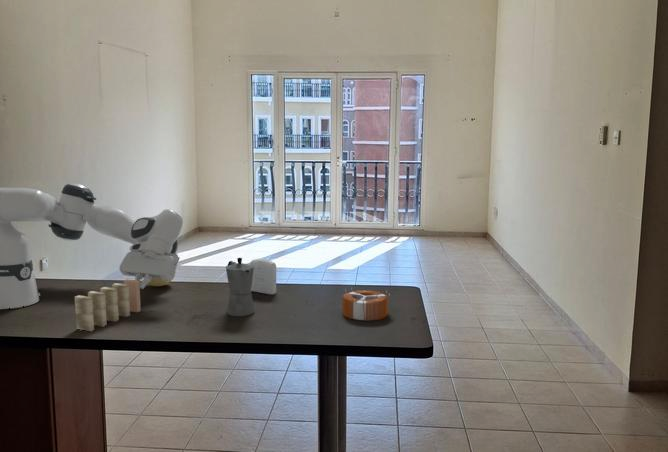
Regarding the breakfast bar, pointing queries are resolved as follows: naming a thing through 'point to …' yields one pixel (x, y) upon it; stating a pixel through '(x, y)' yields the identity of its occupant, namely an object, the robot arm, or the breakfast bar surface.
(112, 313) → the domino
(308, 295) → the breakfast bar surface
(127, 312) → the domino
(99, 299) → the domino
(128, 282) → the domino
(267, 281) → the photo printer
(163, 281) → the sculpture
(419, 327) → the breakfast bar surface
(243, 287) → the coffeepot
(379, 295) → the coil
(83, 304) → the domino
